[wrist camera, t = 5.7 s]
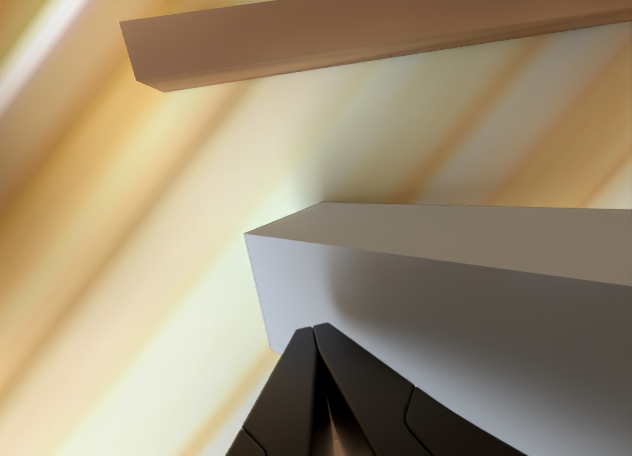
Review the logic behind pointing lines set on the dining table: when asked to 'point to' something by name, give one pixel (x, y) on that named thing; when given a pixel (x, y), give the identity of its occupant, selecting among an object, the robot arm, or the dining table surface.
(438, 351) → the long block
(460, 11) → the rail pen
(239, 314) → the dining table surface
